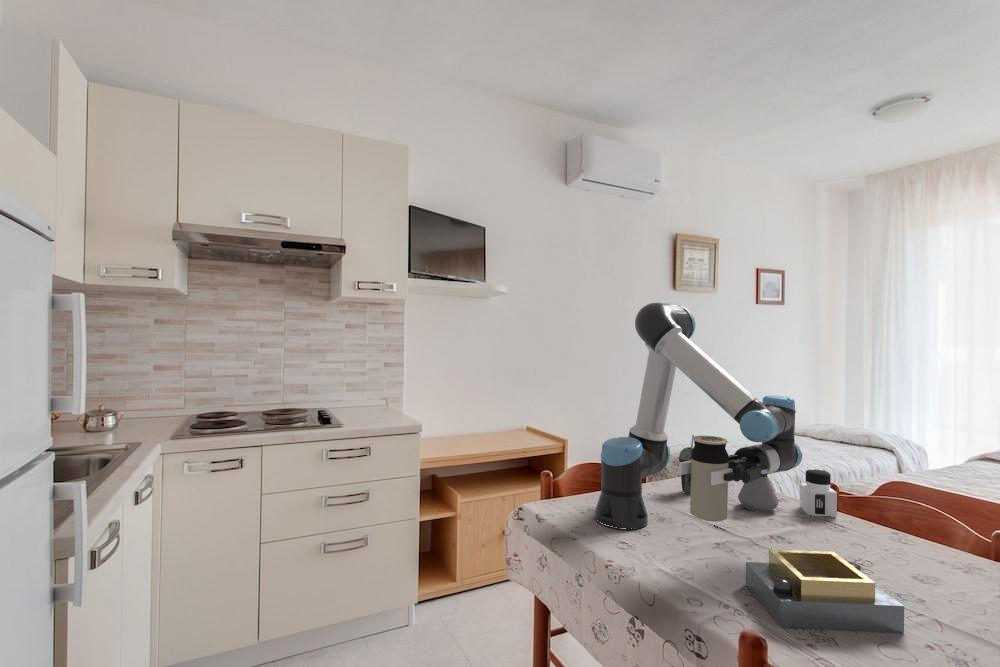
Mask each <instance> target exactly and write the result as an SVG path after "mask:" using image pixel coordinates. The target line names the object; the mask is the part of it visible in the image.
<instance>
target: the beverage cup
mask: <svg viewBox="0 0 1000 667" xmlns="http://www.w3.org/2000/svg"><path fill="white" fill-rule="evenodd" d="M691 436H692V437H691V444H690V447H689V446H687V447H685V448H683V449H681V451H680V453H679V456H678V461H679V463H681V462H686V461H690V457H691V451H692V449H693V448H694V446H693V444H694V440H693V437H695V434H692V435H691ZM679 463H678V464H679ZM680 478H681V489H682V493H683V492H684V493H683V494H685V493H687V494H686V495H689V494H691V473H689V474H684V475H680Z"/></svg>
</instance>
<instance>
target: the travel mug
mask: <svg viewBox="0 0 1000 667" xmlns="http://www.w3.org/2000/svg"><path fill="white" fill-rule="evenodd" d="M727 443H728V439H726V438H723V437H720V436H713V435H694V437H693V444H694V446H693V447H692V448H693V449H692V451H691V495H690V499H689V501H690V503H689V506H690V507H689V508H690V510H689V511H690V512H689V513H690V514H691V515H692V516H694V517H695V518H697V519H699V520H702V521H706V522H713V523H714V522H722V521H725V520H727V519H728V507H729V506H728V502H729V501H728V498H729V497H728V496H729V495H728V494H729V491H728V490H729V482H726V483H721V484H717V485H711V472H714V471H719V470H724V469H728V456H729V453H728V451H727V449H726V447H727V446H726V445H727Z"/></svg>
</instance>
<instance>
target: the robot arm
mask: <svg viewBox="0 0 1000 667" xmlns="http://www.w3.org/2000/svg"><path fill="white" fill-rule="evenodd" d="M634 322H635V323H634V326H635V331H636V333H637V335H638V337H639V338H640V339H641V340H642V341H643V342H644V344H645V346H646V348H647V349H648V357H647V362H646V366H645V372H644V377H643V384H642V389H641V394H640V398H639V405H638V410H637V416H636V421H635V425H633V426H632V427H630V428H629V431H628V436H619V437H612V438H609V439H606V440H605V441H604V442H603V443H602V445H601V452H600V463H601V464H600V467H601V469H600V471H601V472H600V475H601V477H600V484H601V485H600V486H601V487H600V488H601V489H600V494H599V497H598V500H597V504H596V506H595V511H594V519H595V518H596V519H597V520H598V521H599V522H601V523H603V524H606V525H609V526H613V527H617V528H626V529H631V528H632V529H633V530H635V529H634V528H639V529H642V528H641V527H643V528H645V527H646V526H647V525H648V524H649V518H648V517H649V516H648V512H647V508H646V505H645V503H644V502H645V501H644V499H643V498H644V497H643V495H642V494H643V492H642V490H643V481H642V480H643V479H644V478H647V477H650V476H653V475H656V474H658V473H660V472H661V471H662V470H664V469H665V468H666V467H667V465H668V464H669V462H670V457H671V451H670V447H669V446H668V438H669V437H668V435H667V433H666V432H665V427H666V422H667V416H668V411H669V408H670V407H669V405H670V401H671V396H672V390H673V385H674V380H675V376H676V375H675V374H676V370H677V369H679V371H681V373H682V374H684V375H685V376H686V377H688V379H690V380H691V381H692V383H694V384H695V385H696V386H697V387H698V388H699V389H700V390H701V391H703V392H704V393H705V395H707V397H709V398H710V399H711V400H712V401H713V402H714V403H716V404H717V405H718V406H719V407H720V408H721V409H722V410H723V411H724V412H725V413H727V414H728V415H729V416H730V418H732V419H733V420H734V421H735V422H736V423H738V424H739V429H740V431H741V434H742V435H743V436H744V437H745V438H746V439H747V440H749V441H750V442H753V443H758V444H754V445H750V446H749V445H748V446H745V447H741V448H738V449H737V450H736V451H735V452H734V453H733V454H729V455H728V469H724V470H719V471H714V472H711V485H717V484H721V483H726V482H728V483H729V482H733V481H734V482H736V483H737V482H740V481H741V482H742V483H743V484H744V483H749V482H752V481H754V480H756V479H758V478H761V477H767V476H769V475H771V474H775V473H780V472H787V471H790V470H792V469H794V468H796V467H798V466H799V465H800V464H801V462H802V461H803V460H802V459H803V452H802V451H801V449H800V446H799V445H798V444H797V443H796V440H795V435H796V434H795V431H796V430H795V428H796V427H795V426H796V413H797V410H796V401H795V398H792V397H790V396H783V395H765V396H764V397H763V398H762V401H761V400H759V399H758V398H757V397H756V396H755V395H754V394H752V392H750V391H749V390H748V389H747V388H746V387H744V386H743V385H742V384H741V383H740V382H739V381H738V380H736V379H735V378H734V377H733V376H731V375H730V374H729V373H728V372H727V371H726V370H725V369H723V368H722V367H721V366H720V365H719V364H718V363H717V362H716V361H714V360H713V359H712V358H711V357H710V356H708V355H707V354H706V353H705V352H704V351H703V350H702V349H701V348H700V347H698V346H697V345H696V344H695V343H694V342H692V341H691V340H690V339H691V338H692V336H693V335H694V333H695V330H696V320H695V316H694V315H693V314H692V312H691V311H690V310H689V309H688V308H686V307H685V306H682V305H679V304H677V303H665V302H664V303H662V302H652V303H651V302H650V303H648V304H646V305H644V306H643V307H641V308H640V310H638V312H637V314H636V316H635V320H634ZM689 473H691V457H690V461H686V462H681V463H678V475H680V476H681V475H684V474H689ZM647 523H648V524H647ZM645 525H646V526H645ZM644 526H645V527H644Z"/></svg>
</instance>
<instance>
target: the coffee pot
mask: <svg viewBox="0 0 1000 667" xmlns="http://www.w3.org/2000/svg"><path fill="white" fill-rule="evenodd" d="M768 476H769V475H767V477H761V478H758V479H756V480H754V481H752V482H749V483H743V485H742V487H741V489H740V491H739V493H738V494H737V495H738V496H737V498H738V501H739V502H740V503H741V505H742V506H744V508H745V509H746V508H747V510H748V509H750V510H749V511H751V510H753V511H752V512H755V511H758V512H757V513H771V512H772V511H773V510H775V509H776V508H777V507H778V505H779V498H778V497H777V494H776V492H775V490H774V488H773V485H772V483H771V481H770V478H769V477H768ZM771 510H772V511H771ZM770 511H771V512H770Z"/></svg>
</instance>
